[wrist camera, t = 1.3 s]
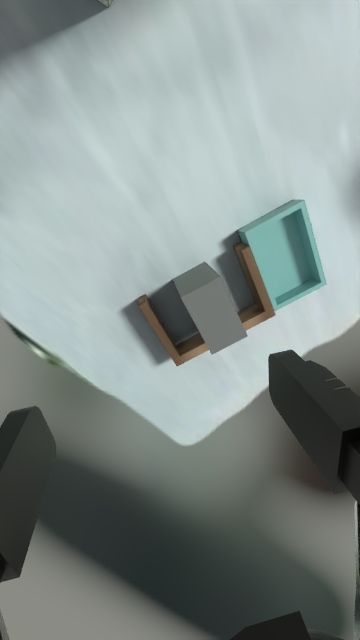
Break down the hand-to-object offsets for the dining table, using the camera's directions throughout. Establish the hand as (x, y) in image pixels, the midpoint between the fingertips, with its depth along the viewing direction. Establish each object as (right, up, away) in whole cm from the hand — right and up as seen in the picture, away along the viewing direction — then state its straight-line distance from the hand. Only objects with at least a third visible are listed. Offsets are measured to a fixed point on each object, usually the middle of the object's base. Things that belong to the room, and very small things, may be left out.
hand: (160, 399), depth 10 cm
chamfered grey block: (+3, +6, +27) cm, 27 cm away
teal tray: (+13, +11, +26) cm, 31 cm away
